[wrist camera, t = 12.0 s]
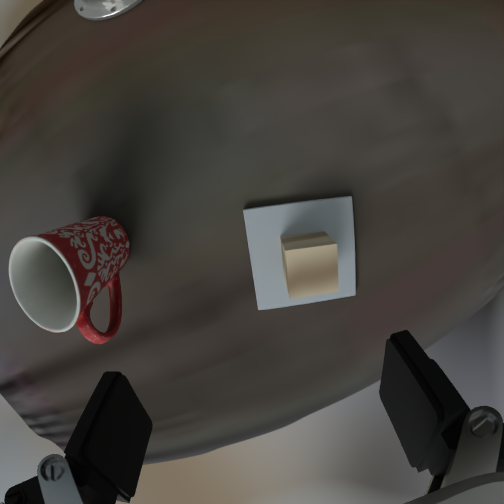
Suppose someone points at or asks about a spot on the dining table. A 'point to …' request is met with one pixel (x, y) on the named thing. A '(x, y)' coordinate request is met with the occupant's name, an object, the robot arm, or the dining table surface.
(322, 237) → the maple block
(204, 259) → the dining table surface
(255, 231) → the pad
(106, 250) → the mug
